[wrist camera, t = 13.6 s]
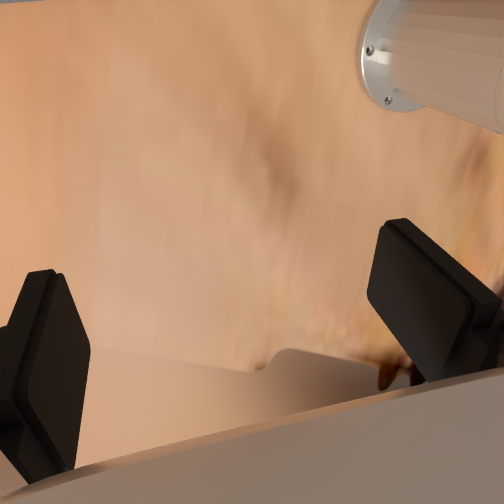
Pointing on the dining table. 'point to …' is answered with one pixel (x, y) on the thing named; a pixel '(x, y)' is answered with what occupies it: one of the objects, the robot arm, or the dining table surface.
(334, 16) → the dining table surface
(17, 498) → the robot arm
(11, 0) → the tray
